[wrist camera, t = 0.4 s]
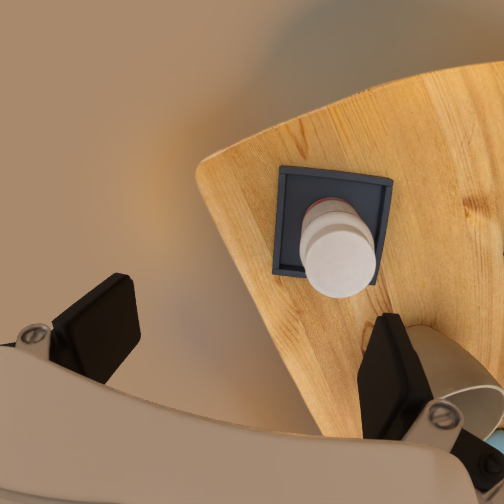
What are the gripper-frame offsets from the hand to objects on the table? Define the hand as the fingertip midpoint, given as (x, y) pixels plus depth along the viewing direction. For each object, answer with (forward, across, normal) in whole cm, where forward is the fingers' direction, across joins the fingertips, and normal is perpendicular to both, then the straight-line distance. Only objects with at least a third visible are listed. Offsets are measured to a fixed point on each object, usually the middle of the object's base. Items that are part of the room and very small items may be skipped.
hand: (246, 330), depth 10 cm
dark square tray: (+22, -5, +1) cm, 23 cm away
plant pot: (+22, -19, +16) cm, 33 cm away
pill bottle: (+22, -5, +1) cm, 22 cm away
